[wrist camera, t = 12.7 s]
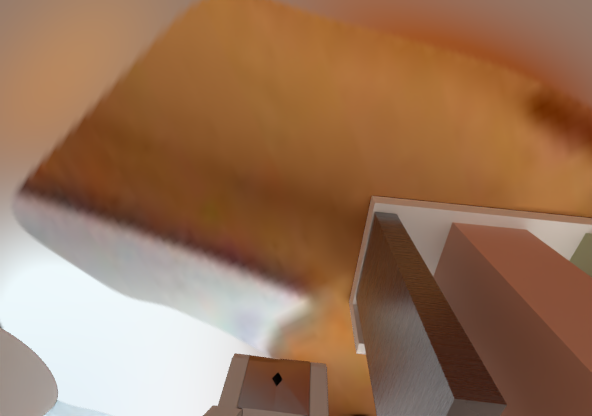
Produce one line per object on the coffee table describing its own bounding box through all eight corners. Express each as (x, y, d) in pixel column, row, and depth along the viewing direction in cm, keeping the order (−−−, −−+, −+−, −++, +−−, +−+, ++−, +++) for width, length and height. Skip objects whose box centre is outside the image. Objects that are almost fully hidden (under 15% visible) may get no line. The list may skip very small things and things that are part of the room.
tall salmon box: (423, 305, 18) (551, 582, 8) (452, 222, 16) (689, 478, 6) (486, 312, 18) (694, 600, 8) (526, 229, 16) (898, 502, 6)
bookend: (355, 296, 18) (394, 515, 9) (374, 211, 16) (454, 398, 7) (374, 298, 18) (432, 520, 9) (396, 213, 16) (507, 404, 7)
